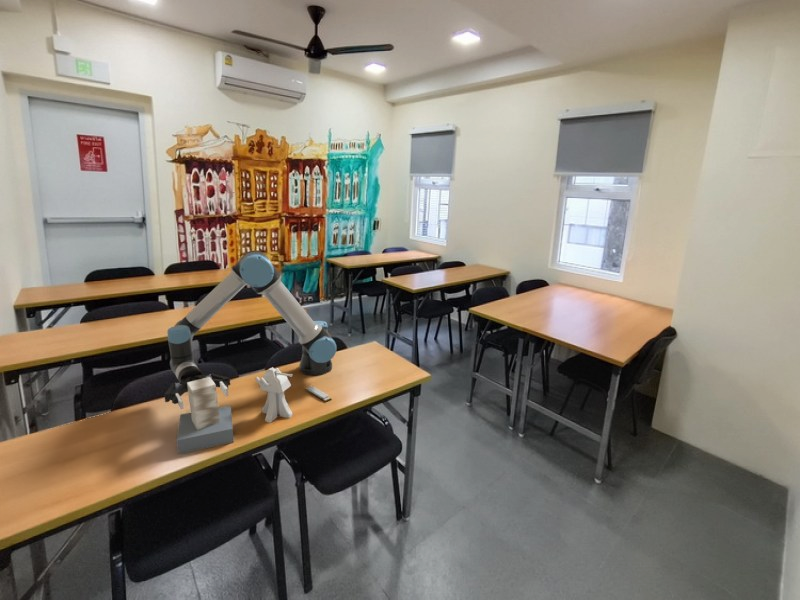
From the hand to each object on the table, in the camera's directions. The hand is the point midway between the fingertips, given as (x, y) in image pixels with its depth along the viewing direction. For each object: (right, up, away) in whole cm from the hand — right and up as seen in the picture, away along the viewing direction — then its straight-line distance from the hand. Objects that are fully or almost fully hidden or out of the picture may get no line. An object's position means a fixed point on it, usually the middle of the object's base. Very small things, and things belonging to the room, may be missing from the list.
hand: (205, 398), depth 126 cm
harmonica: (+29, -8, +34) cm, 46 cm away
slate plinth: (-2, -14, +6) cm, 15 cm away
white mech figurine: (+18, -11, +20) cm, 29 cm away
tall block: (-2, -9, +5) cm, 11 cm away
